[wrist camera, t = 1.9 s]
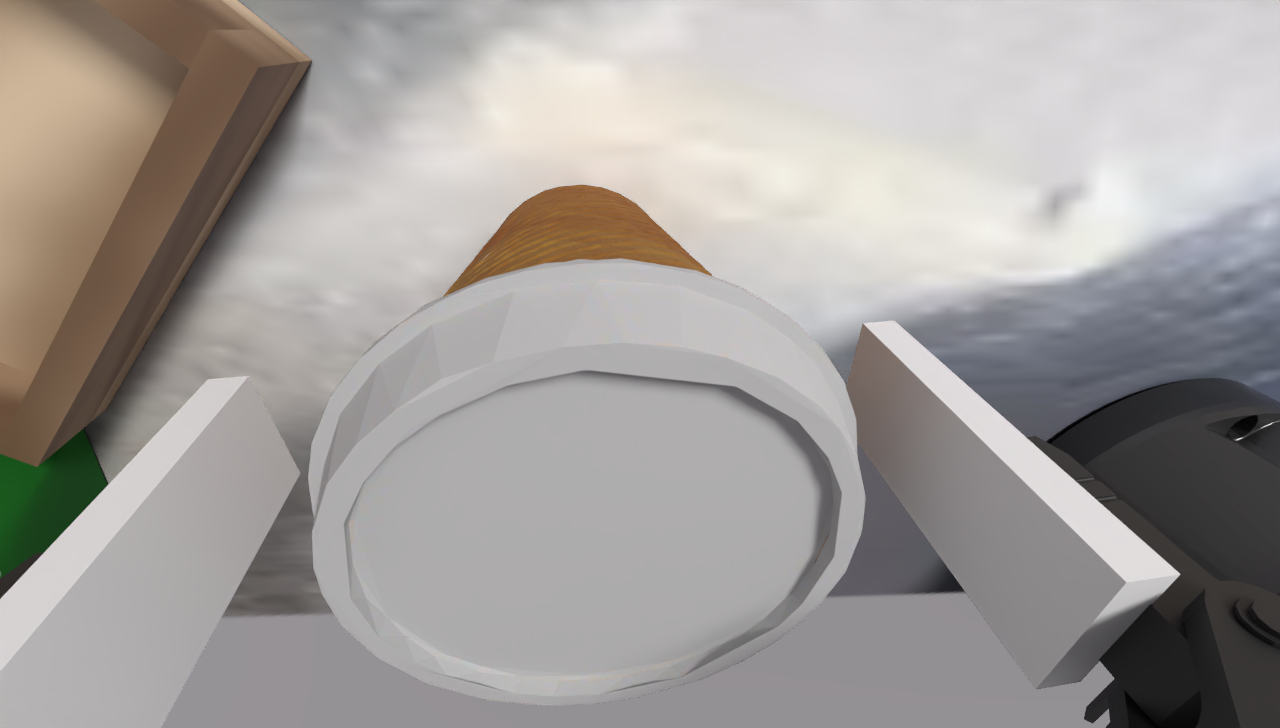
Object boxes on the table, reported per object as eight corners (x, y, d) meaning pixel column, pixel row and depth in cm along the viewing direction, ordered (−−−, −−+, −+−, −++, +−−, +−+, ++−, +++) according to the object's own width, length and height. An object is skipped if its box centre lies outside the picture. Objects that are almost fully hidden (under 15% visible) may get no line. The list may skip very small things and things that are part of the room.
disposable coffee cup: (488, 406, 21) (423, 755, 11) (392, 159, 16) (93, 394, 6) (720, 361, 21) (864, 661, 11) (703, 104, 16) (949, 235, 6)
